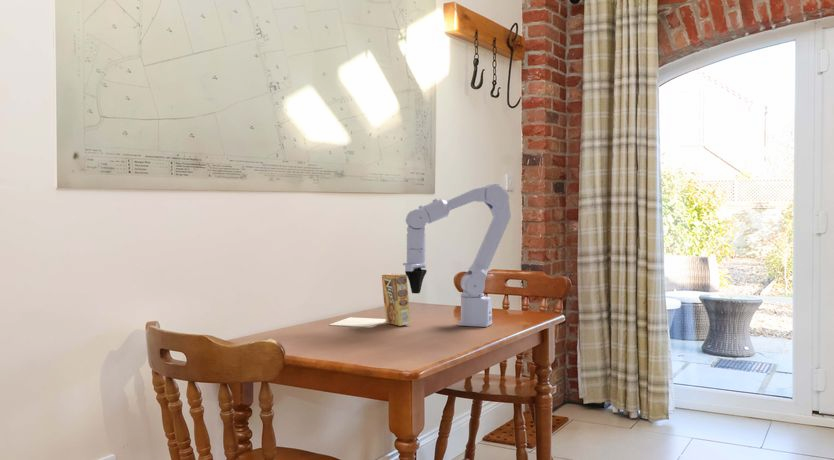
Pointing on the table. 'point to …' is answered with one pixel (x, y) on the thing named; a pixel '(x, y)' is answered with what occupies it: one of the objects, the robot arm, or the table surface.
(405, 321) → the candy box
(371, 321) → the placemat
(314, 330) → the table surface
